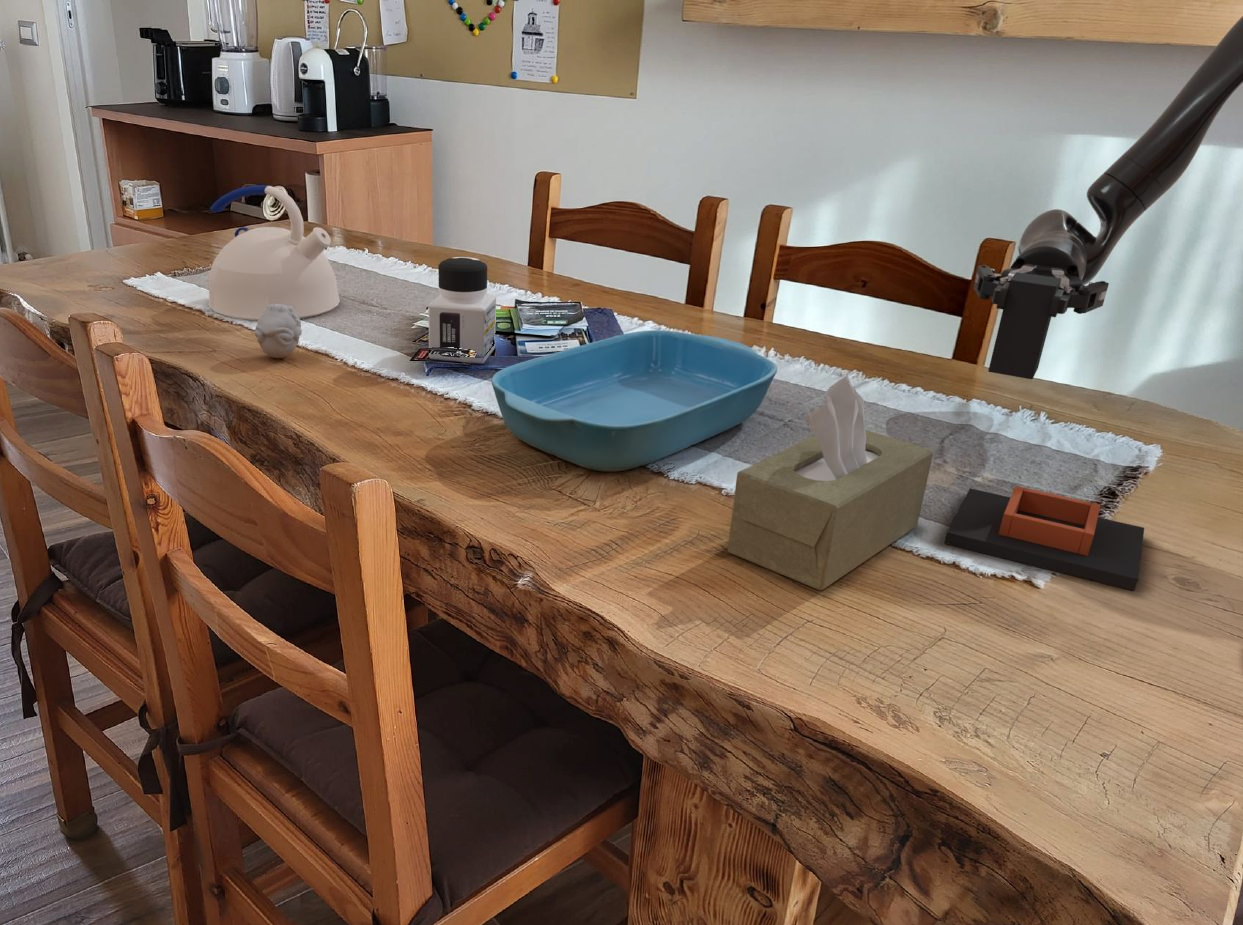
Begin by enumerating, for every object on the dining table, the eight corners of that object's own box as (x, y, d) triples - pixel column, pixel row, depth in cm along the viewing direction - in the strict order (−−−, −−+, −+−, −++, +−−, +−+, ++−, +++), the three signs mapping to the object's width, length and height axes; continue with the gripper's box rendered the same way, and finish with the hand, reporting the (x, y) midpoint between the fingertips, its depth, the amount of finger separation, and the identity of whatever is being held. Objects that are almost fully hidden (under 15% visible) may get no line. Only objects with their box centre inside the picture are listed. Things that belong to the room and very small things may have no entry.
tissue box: (828, 494, 106) (855, 344, 99) (918, 526, 100) (954, 369, 93) (723, 553, 94) (745, 387, 87) (819, 593, 88) (851, 418, 81)
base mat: (1140, 538, 100) (1151, 506, 98) (1134, 591, 90) (1145, 556, 89) (967, 498, 107) (974, 468, 105) (944, 543, 97) (952, 511, 96)
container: (483, 364, 140) (484, 268, 135) (428, 359, 142) (427, 264, 136) (495, 348, 147) (497, 256, 141) (442, 344, 148) (442, 252, 142)
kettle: (296, 328, 153) (287, 201, 144) (180, 310, 159) (164, 188, 151) (365, 297, 170) (360, 182, 161) (257, 282, 176) (247, 171, 168)
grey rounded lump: (312, 351, 143) (308, 301, 140) (289, 366, 137) (286, 314, 134) (271, 347, 144) (267, 297, 141) (247, 361, 138) (242, 310, 135)
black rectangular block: (1037, 369, 114) (1061, 278, 110) (1032, 379, 111) (1056, 286, 106) (994, 361, 116) (1016, 271, 112) (987, 371, 113) (1010, 279, 108)
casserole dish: (600, 502, 103) (605, 435, 99) (452, 438, 116) (452, 377, 113) (801, 417, 126) (810, 360, 123) (658, 371, 140) (663, 319, 137)
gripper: (1105, 314, 120) (1093, 350, 106) (975, 295, 126) (948, 327, 112) (1124, 248, 116) (1113, 277, 103) (990, 232, 122) (963, 257, 109)
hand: (1027, 303), depth 108 cm, fingers closed on black rectangular block, 4 cm apart
